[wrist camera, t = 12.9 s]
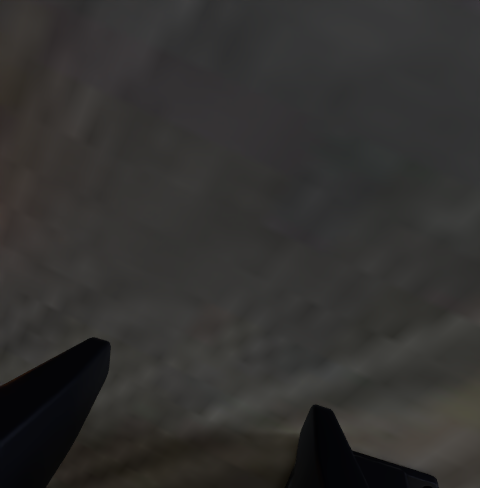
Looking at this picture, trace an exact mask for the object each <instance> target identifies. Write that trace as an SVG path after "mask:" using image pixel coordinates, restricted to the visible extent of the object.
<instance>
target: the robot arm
mask: <svg viewBox="0 0 480 488" xmlns="http://www.w3.org/2000/svg"><path fill="white" fill-rule="evenodd" d="M110 350H111V345H110V343H109V342H108V341H105V340H102V339H98V338H95V337H92V338H89V339H87V340H85V341H84V342H82V343H80V344H78V345H76V346H74V347H72V348H71V349H69V350H67V351H65V352H63V353H61V354H59V355H58V356H56V357H54V358H52V359H50V360H48V361H46V362H45V363H43V364H41V365H39V366H37V367H35V368H33V369H32V370H30V371H28V372H26V373H24V374H22V375H20V376H19V377H17V378H15V379H13V380H11V381H9V382H8V383H6V384H4V385H2V386H0V488H46V486H47V485H48V483H49V482H50V480H51V478H52V477H53V475H54V474H55V472H56V471H57V469H58V468H59V466H60V464H61V463H62V461H63V460H64V458H65V457H66V455H67V453H68V452H69V450H70V448H71V447H72V445H73V443H74V441H75V439H76V438H77V436H78V434H79V432H80V430H81V428H82V426H83V424H84V422H85V420H86V418H87V416H88V414H89V412H90V410H91V408H92V406H93V404H94V402H95V400H96V398H97V396H98V394H99V392H100V390H101V388H102V386H103V384H104V382H105V379H106V377H107V374H108V371H109V362H110ZM285 488H439V487H438V482H437V479H436V478H435V477H433V476H431V475H428V474H425V473H422V472H419V471H416V470H412V469H409V468H406V467H403V466H399V465H396V464H393V463H390V462H386V461H383V460H380V459H377V458H374V457H370V456H367V455H364V454H361V453H357V452H354V451H352V450H351V448H350V446H349V444H348V442H347V440H346V438H345V435H344V433H343V431H342V429H341V427H340V425H339V423H338V421H337V419H336V417H335V415H334V413H333V411H332V410H331V409H328V408H325V407H322V406H319V405H313V406H312V407H311V409H310V411H309V413H308V415H307V418H306V420H305V422H304V425H303V427H302V430H301V433H300V437H299V443H298V450H297V456H296V463H295V466H294V468H293V470H292V472H291V475H290V477H289V479H288V481H287V484H286V486H285Z"/></svg>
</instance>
